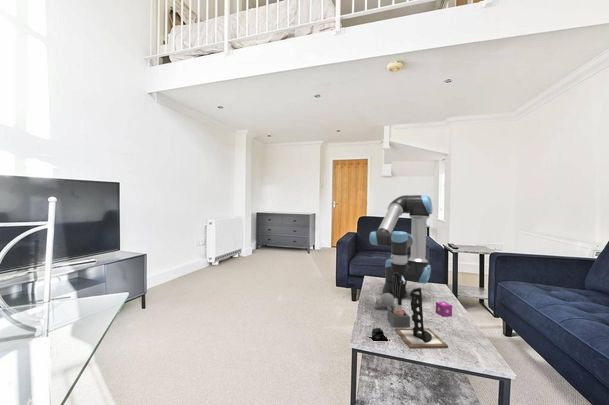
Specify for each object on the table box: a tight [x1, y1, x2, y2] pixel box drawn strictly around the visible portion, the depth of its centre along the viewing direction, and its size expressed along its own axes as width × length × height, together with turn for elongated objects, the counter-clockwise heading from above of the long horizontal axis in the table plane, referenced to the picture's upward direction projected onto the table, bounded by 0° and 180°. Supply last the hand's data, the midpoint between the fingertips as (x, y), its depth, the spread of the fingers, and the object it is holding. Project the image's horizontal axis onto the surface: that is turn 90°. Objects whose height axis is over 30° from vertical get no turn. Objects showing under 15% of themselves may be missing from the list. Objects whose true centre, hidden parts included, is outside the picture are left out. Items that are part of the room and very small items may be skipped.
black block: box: [368, 327, 391, 342], centre depth 116 cm, size 12×7×5 cm, turn 104°
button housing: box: [387, 309, 411, 328], centre depth 131 cm, size 8×8×5 cm
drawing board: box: [395, 327, 449, 349], centre depth 116 cm, size 15×16×1 cm
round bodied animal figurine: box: [373, 293, 395, 311], centre depth 149 cm, size 7×12×8 cm, turn 82°
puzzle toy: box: [435, 301, 453, 318], centre depth 142 cm, size 6×6×6 cm
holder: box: [409, 287, 432, 343], centre depth 116 cm, size 11×8×20 cm
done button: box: [392, 308, 405, 316], centre depth 131 cm, size 5×5×3 cm
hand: (398, 310), depth 131 cm, fingers closed
